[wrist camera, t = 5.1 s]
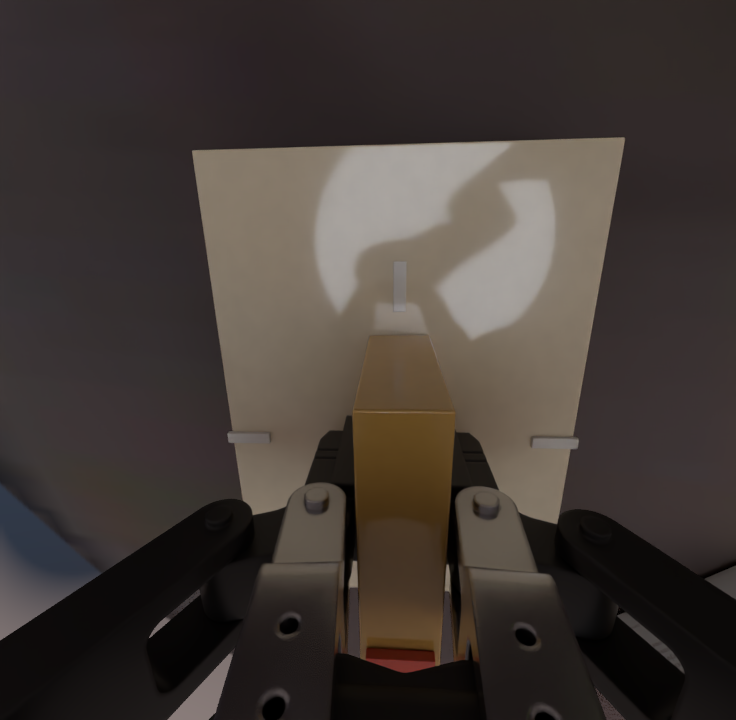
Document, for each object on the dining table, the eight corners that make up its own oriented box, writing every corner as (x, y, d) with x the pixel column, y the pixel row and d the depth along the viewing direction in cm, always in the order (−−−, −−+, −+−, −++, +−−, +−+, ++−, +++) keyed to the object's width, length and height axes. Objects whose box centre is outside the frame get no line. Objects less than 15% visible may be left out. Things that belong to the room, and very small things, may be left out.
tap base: (232, 167, 13) (184, 148, 10) (575, 157, 12) (634, 134, 9) (274, 527, 18) (250, 587, 15) (522, 535, 17) (550, 599, 14)
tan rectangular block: (368, 334, 11) (350, 416, 6) (429, 334, 11) (459, 417, 6) (371, 526, 14) (360, 694, 9) (422, 527, 14) (440, 699, 9)
